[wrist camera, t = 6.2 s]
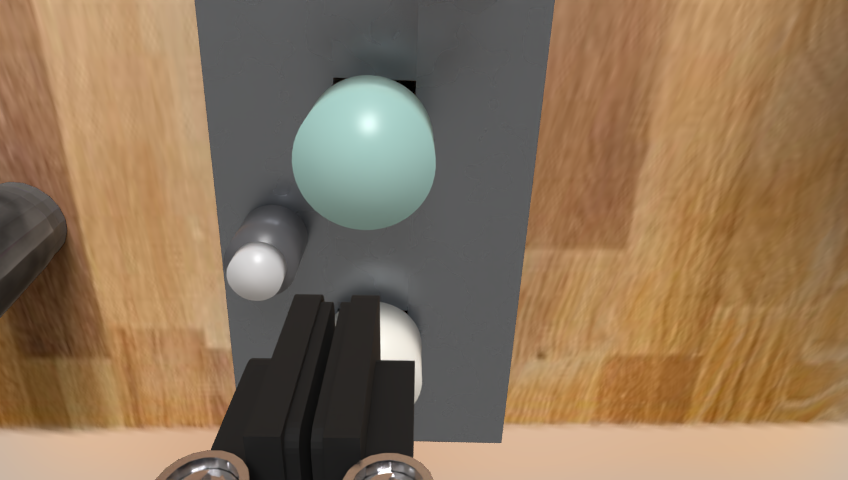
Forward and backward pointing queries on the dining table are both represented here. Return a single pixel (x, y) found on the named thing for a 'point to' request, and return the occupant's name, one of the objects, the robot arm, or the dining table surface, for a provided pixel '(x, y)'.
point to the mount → (444, 205)
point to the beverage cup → (26, 238)
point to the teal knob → (365, 153)
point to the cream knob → (400, 340)
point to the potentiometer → (265, 252)
